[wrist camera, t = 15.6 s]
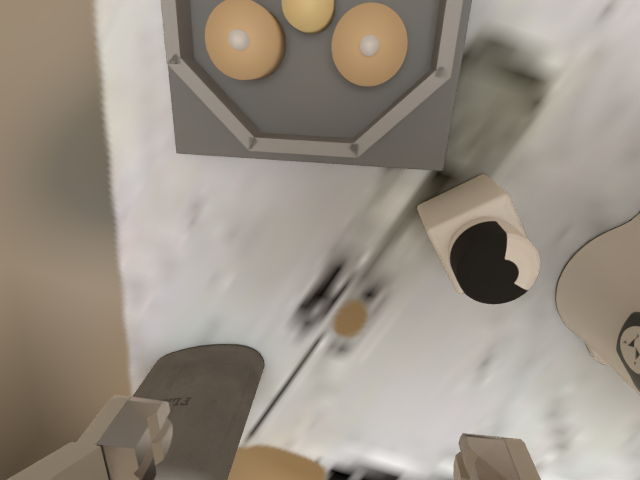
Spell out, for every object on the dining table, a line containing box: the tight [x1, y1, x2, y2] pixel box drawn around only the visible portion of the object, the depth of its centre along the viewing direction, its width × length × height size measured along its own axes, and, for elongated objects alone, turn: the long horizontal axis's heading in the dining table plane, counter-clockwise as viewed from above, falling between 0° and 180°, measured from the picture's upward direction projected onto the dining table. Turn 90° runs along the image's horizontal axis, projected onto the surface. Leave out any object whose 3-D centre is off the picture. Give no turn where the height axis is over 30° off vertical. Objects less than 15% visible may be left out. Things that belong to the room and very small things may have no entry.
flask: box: [132, 345, 264, 480], centre depth 42 cm, size 15×6×20 cm, turn 104°
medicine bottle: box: [417, 174, 540, 304], centre depth 35 cm, size 7×7×12 cm
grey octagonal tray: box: [161, 0, 472, 171], centre depth 32 cm, size 26×26×6 cm
